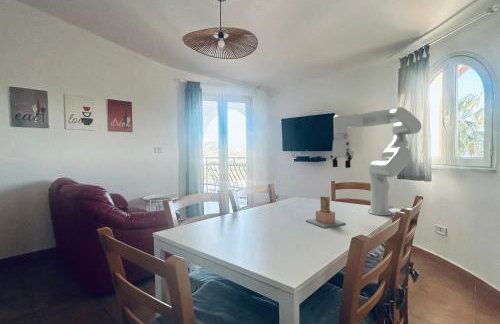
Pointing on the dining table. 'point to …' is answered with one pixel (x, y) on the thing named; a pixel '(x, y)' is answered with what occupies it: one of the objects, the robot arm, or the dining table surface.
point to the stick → (325, 204)
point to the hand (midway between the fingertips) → (341, 167)
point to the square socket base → (325, 220)
